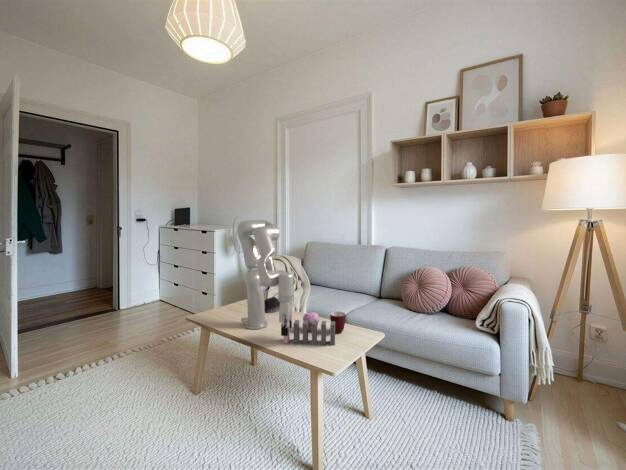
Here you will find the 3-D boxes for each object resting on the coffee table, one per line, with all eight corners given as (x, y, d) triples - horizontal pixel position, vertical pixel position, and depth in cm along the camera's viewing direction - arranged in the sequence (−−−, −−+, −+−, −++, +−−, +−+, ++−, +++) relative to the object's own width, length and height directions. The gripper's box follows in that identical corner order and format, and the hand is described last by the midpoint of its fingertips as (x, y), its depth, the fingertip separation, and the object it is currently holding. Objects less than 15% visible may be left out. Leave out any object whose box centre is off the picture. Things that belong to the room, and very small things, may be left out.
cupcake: (300, 329, 167) (299, 311, 166) (312, 326, 172) (312, 308, 172) (309, 334, 160) (309, 316, 159) (322, 330, 165) (322, 312, 165)
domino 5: (330, 345, 148) (330, 324, 147) (331, 340, 152) (331, 321, 152) (334, 345, 147) (334, 325, 147) (335, 341, 152) (335, 321, 152)
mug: (336, 326, 171) (336, 309, 170) (350, 329, 167) (350, 311, 166) (327, 333, 162) (327, 314, 161) (341, 336, 158) (341, 317, 157)
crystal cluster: (259, 309, 206) (258, 295, 205) (279, 305, 210) (278, 291, 208) (262, 317, 194) (260, 302, 192) (283, 313, 197) (282, 298, 196)
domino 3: (311, 344, 149) (311, 324, 148) (313, 340, 154) (313, 320, 153) (316, 344, 148) (315, 324, 148) (317, 340, 153) (317, 320, 153)
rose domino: (283, 343, 150) (283, 323, 150) (285, 338, 155) (285, 319, 154) (287, 343, 150) (287, 323, 149) (289, 339, 155) (289, 319, 154)
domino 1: (293, 343, 150) (293, 323, 149) (295, 339, 155) (295, 320, 154) (297, 343, 149) (297, 323, 149) (299, 339, 154) (299, 320, 154)
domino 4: (321, 344, 148) (321, 324, 147) (322, 340, 153) (322, 320, 152) (325, 344, 148) (325, 324, 147) (326, 340, 153) (326, 321, 152)
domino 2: (302, 343, 149) (302, 323, 148) (304, 339, 154) (304, 320, 153) (306, 344, 149) (306, 324, 148) (308, 339, 154) (308, 320, 153)
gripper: (282, 293, 160) (283, 325, 161) (274, 302, 143) (275, 338, 144) (296, 293, 159) (297, 325, 160) (290, 303, 142) (290, 339, 143)
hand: (286, 331), depth 152 cm, fingers open, 9 cm apart
